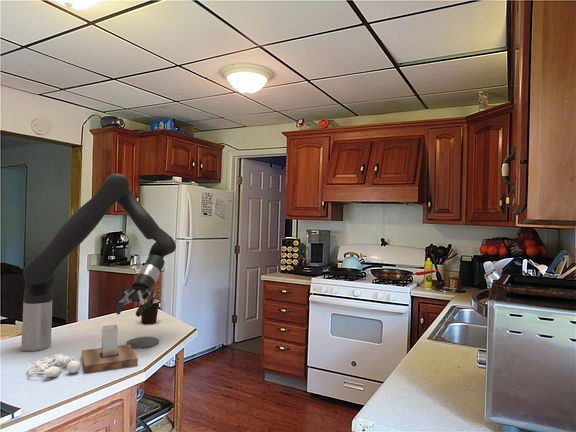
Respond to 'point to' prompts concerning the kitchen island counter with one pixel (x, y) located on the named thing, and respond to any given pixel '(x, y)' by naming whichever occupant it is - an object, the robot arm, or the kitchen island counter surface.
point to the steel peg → (109, 341)
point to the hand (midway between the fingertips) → (127, 314)
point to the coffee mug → (150, 313)
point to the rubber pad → (143, 342)
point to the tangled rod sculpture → (54, 371)
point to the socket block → (108, 359)
